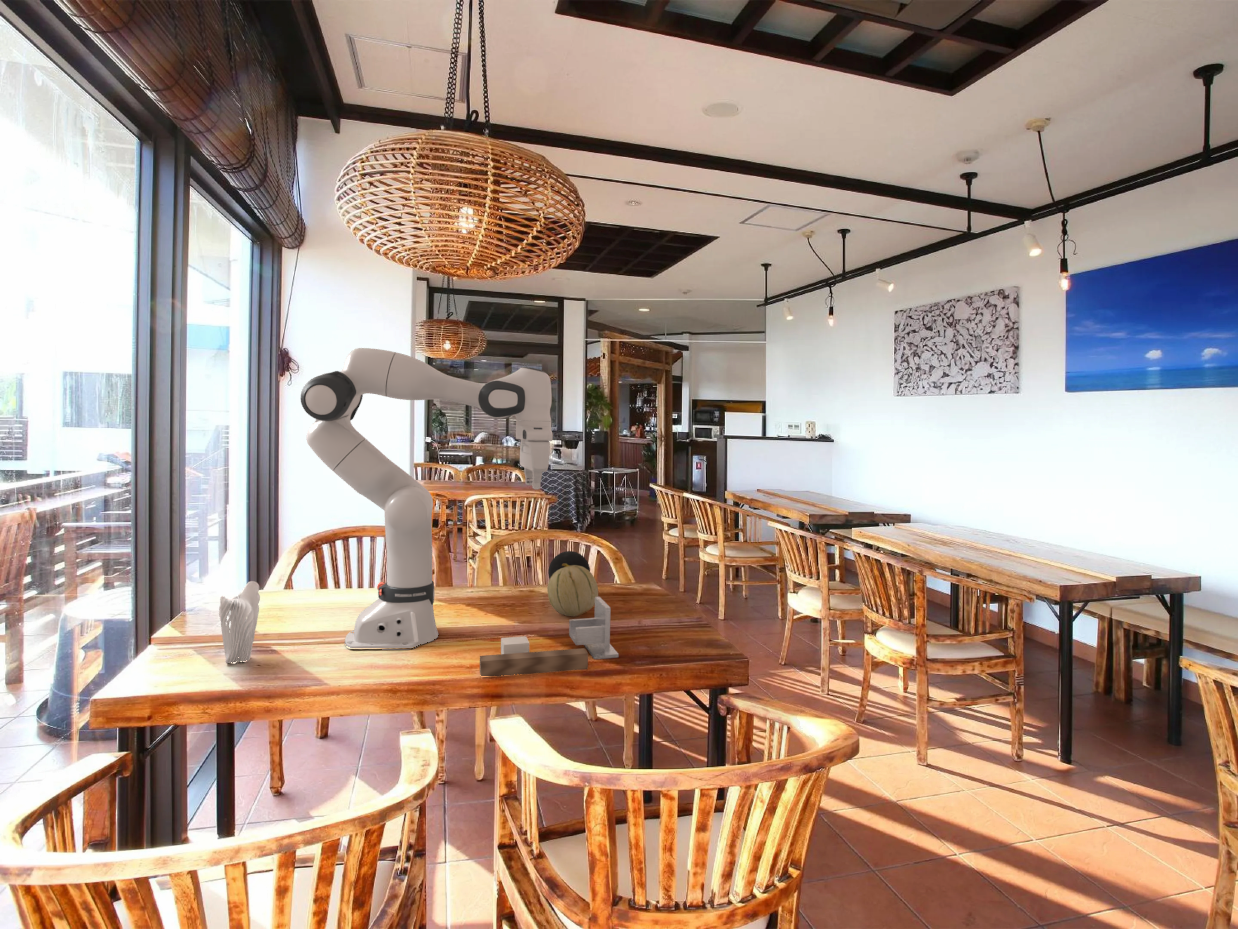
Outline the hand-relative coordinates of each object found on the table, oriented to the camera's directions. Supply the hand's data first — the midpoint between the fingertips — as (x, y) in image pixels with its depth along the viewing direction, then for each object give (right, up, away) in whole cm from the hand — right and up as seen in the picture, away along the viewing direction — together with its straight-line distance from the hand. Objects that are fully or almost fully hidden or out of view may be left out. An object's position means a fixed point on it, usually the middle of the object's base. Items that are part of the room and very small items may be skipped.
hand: (532, 487), depth 171 cm
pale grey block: (-3, -40, -10) cm, 41 cm away
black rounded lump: (+6, -37, +42) cm, 56 cm away
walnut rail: (+3, -41, -19) cm, 45 cm away
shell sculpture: (-64, -39, -18) cm, 78 cm away
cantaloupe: (+8, -38, +24) cm, 46 cm away
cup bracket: (+15, -40, -5) cm, 43 cm away
